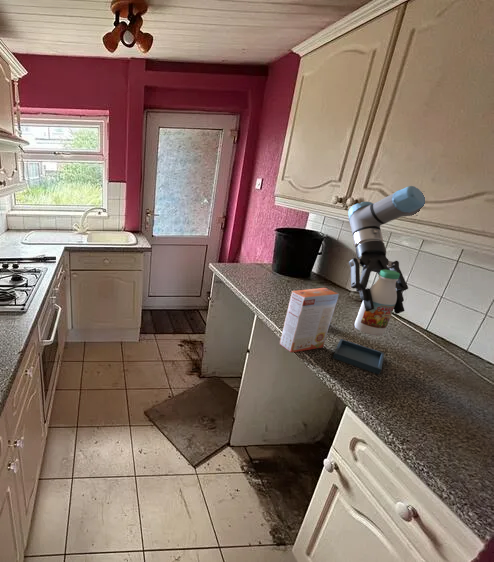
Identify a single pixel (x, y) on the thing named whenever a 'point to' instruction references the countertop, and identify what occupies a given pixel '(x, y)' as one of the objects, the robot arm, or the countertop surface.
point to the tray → (359, 356)
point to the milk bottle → (379, 304)
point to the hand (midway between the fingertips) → (384, 310)
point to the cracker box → (308, 319)
